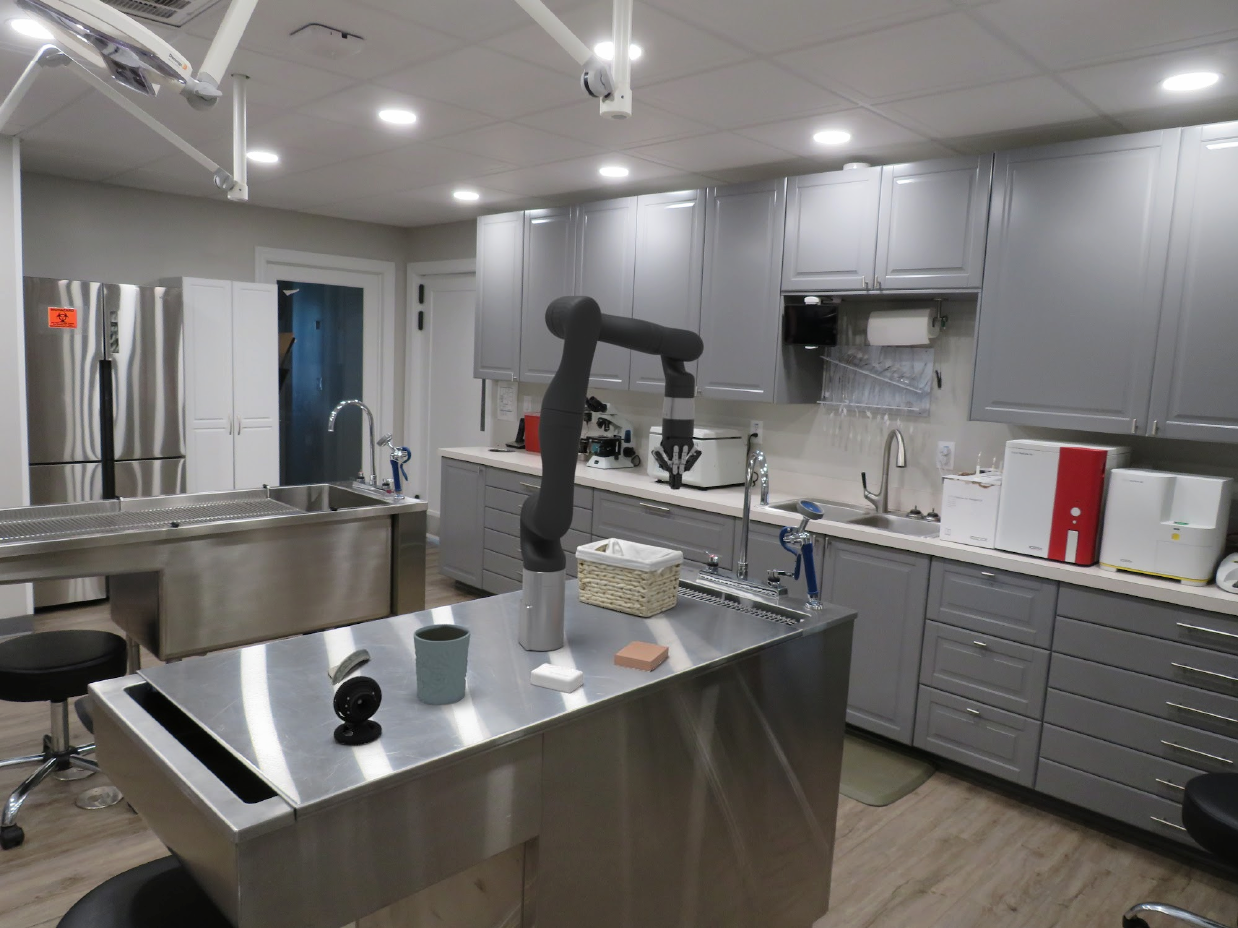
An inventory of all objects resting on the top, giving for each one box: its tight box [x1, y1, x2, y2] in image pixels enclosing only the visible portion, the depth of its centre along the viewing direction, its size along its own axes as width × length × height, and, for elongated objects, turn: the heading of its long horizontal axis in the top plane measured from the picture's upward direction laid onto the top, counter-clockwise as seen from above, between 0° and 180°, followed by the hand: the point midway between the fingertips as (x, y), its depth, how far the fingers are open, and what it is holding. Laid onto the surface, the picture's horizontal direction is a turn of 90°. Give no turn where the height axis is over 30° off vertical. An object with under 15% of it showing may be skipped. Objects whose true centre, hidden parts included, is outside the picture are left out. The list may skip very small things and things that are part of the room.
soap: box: [530, 662, 584, 694], centre depth 159 cm, size 9×6×3 cm, turn 64°
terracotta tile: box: [613, 640, 670, 672], centre depth 173 cm, size 3×8×10 cm
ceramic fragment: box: [327, 648, 371, 685], centre depth 162 cm, size 14×5×4 cm, turn 167°
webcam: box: [332, 675, 383, 746], centre depth 135 cm, size 8×8×10 cm
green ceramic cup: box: [413, 623, 471, 706], centre depth 152 cm, size 10×10×12 cm
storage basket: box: [575, 537, 684, 618], centre depth 212 cm, size 24×16×15 cm
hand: (675, 489), depth 198 cm, fingers closed
